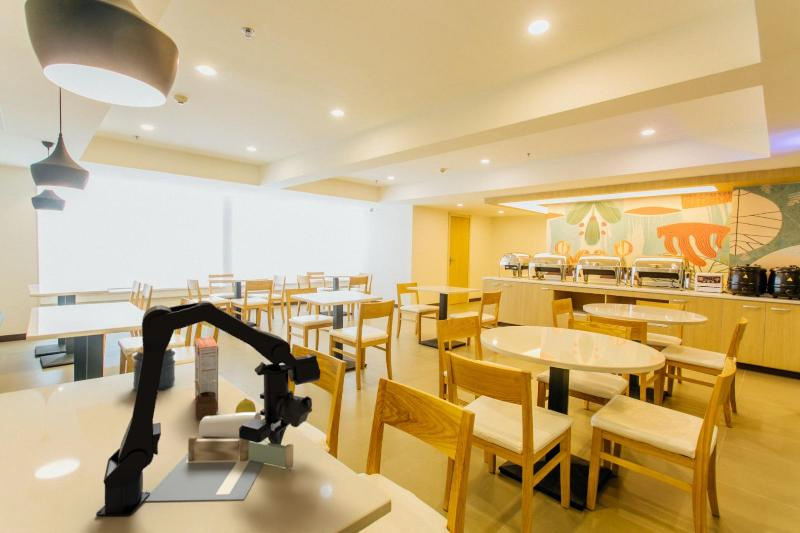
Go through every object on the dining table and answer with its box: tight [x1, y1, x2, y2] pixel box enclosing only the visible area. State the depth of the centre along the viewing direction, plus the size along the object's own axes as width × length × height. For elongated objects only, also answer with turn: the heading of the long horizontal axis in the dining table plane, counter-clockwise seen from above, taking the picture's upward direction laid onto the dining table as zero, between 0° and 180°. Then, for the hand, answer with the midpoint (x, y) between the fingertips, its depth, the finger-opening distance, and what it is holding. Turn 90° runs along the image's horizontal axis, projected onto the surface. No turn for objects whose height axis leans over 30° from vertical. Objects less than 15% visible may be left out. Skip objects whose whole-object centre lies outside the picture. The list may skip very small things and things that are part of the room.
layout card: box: [143, 453, 264, 503], centre depth 85 cm, size 19×20×1 cm
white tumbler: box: [198, 411, 262, 439], centre depth 102 cm, size 7×7×15 cm
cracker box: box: [194, 336, 219, 410], centre depth 123 cm, size 14×6×21 cm, turn 33°
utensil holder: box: [194, 380, 218, 421], centre depth 113 cm, size 6×6×12 cm
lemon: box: [235, 398, 257, 413], centre depth 108 cm, size 6×6×8 cm
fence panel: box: [248, 440, 295, 470], centre depth 89 cm, size 12×2×5 cm, turn 74°
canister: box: [132, 344, 176, 392], centre depth 137 cm, size 13×13×18 cm
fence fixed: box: [187, 435, 249, 461], centre depth 90 cm, size 15×2×6 cm, turn 94°
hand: (276, 450), depth 91 cm, fingers closed
